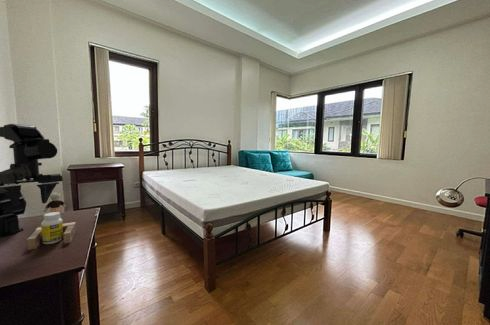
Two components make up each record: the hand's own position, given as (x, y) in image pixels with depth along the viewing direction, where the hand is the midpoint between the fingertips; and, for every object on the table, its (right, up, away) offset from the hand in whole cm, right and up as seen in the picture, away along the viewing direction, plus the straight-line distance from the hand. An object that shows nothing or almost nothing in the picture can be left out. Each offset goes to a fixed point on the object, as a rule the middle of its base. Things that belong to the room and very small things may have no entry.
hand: (30, 204), depth 71 cm
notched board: (+8, -13, +1) cm, 15 cm away
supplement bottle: (+8, -13, 0) cm, 15 cm away
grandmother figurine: (-7, -11, +17) cm, 21 cm away
